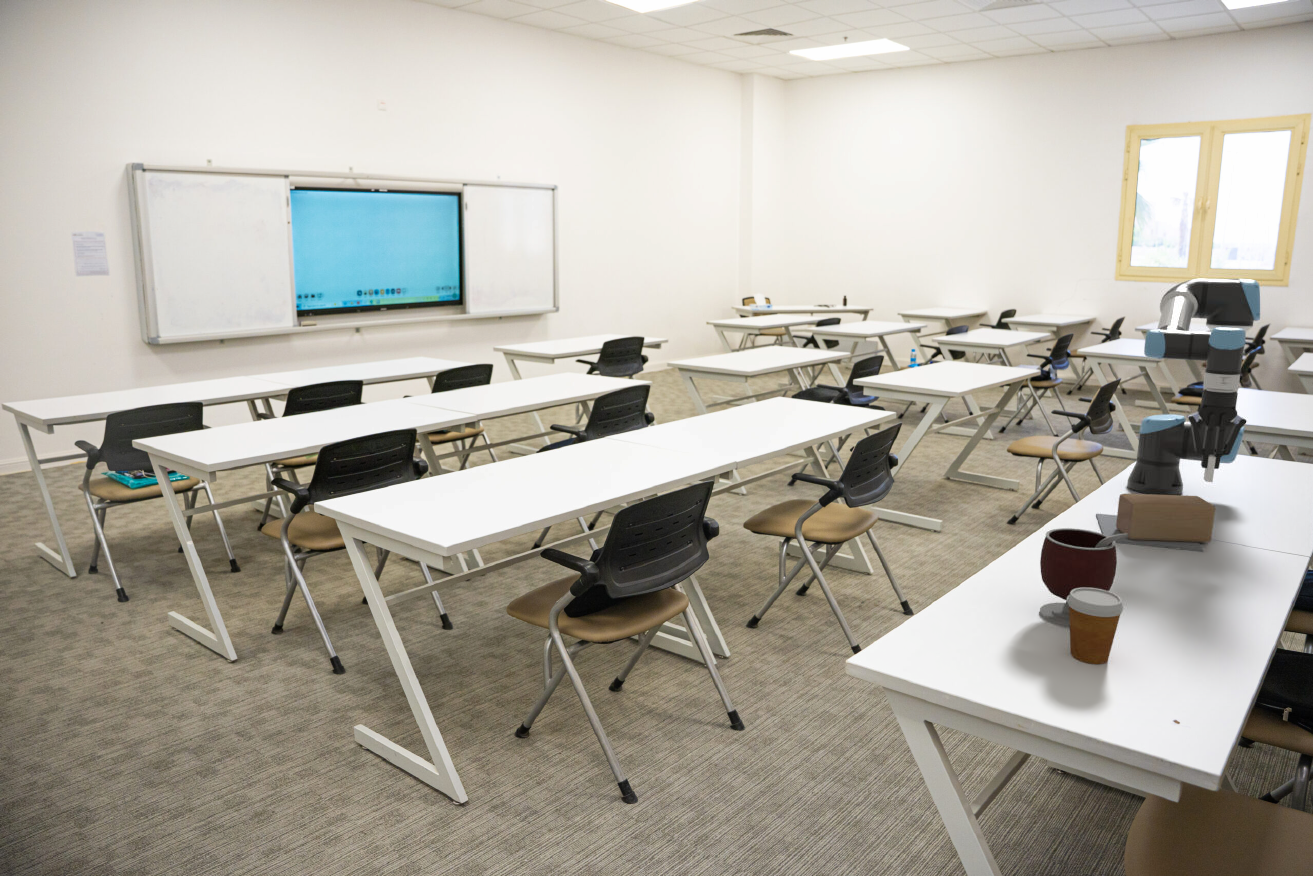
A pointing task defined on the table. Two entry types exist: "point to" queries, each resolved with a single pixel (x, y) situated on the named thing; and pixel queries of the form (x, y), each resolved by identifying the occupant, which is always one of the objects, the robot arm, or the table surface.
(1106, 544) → the mate gourd
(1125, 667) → the table surface
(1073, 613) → the disposable coffee cup
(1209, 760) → the table surface
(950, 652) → the table surface
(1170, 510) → the wooden block
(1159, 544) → the mat
